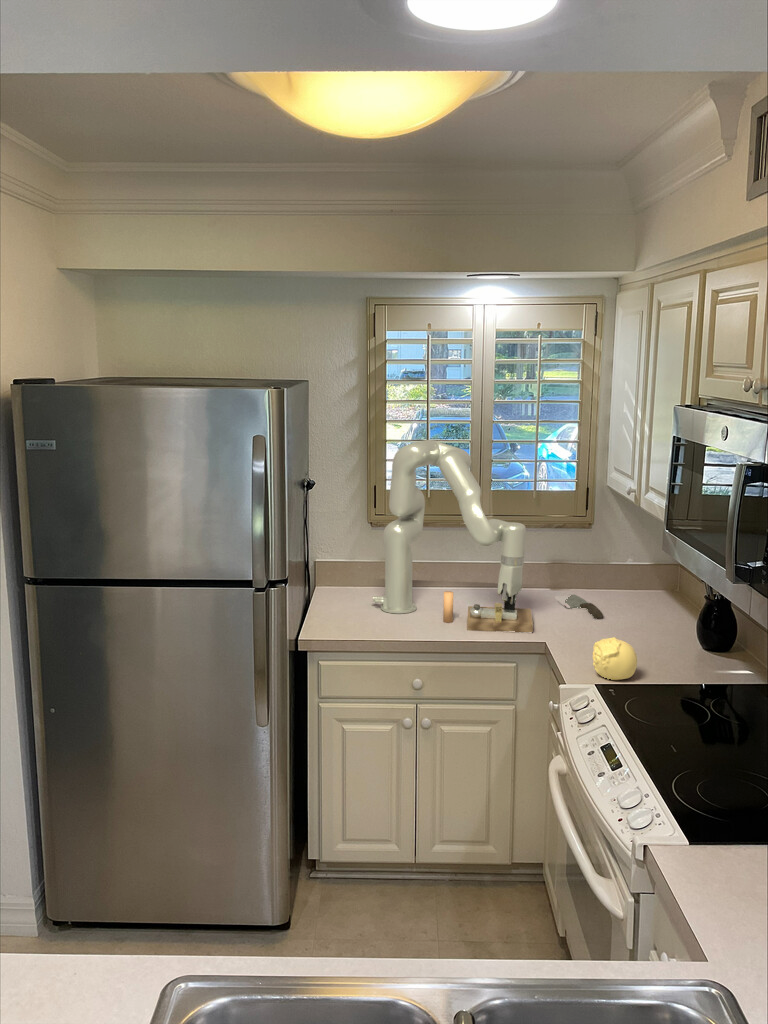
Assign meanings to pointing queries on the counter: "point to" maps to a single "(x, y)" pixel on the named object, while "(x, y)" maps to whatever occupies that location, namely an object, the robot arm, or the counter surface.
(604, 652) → the sculpture
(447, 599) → the lock pin
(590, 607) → the cleaver
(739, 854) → the counter surface
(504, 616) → the latch bar
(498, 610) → the keeper
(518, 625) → the base plate
